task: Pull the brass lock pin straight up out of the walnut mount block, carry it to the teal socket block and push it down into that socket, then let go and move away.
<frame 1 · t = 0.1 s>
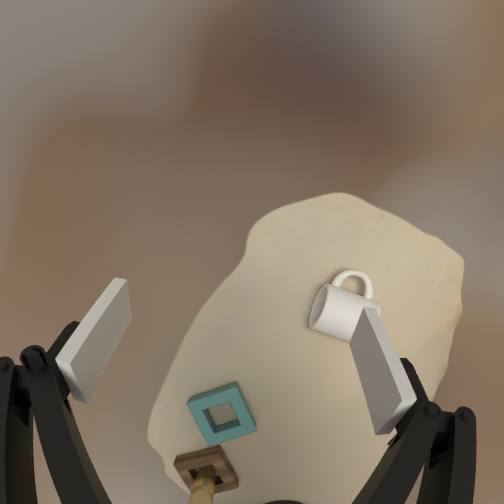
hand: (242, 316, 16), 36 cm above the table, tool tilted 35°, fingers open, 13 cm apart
socket block: (222, 411, 47), on the table
mount block: (207, 468, 45), on the table
pin: (204, 486, 38), in the mount block
mug: (340, 304, 52), on the table
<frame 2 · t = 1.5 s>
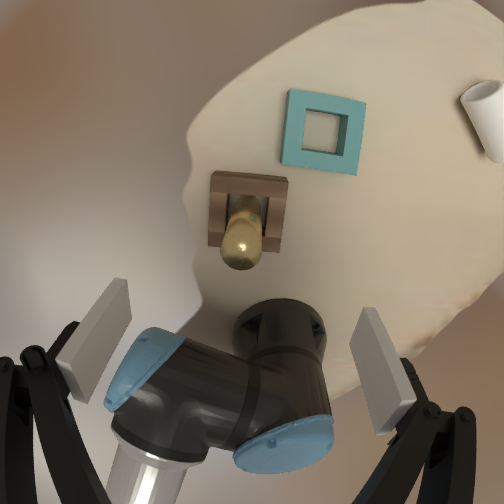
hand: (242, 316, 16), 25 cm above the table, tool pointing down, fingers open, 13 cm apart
socket block: (319, 131, 34), on the table
mount block: (247, 207, 39), on the table
pin: (245, 225, 32), in the mount block
mug: (485, 112, 31), on the table
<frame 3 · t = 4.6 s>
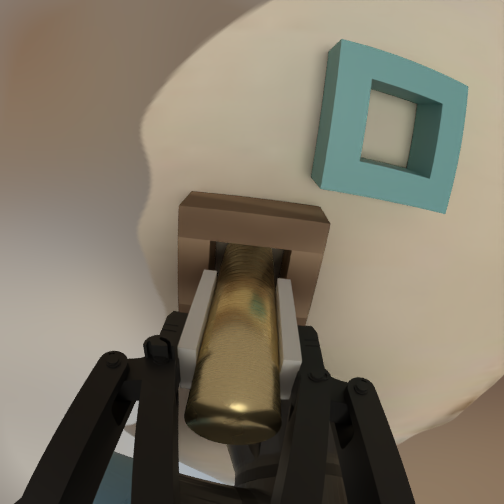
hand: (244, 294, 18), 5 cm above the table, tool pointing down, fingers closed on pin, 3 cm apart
socket block: (382, 127, 18), on the table
mount block: (248, 256, 22), on the table
pin: (243, 314, 16), in the mount block, touching gripper
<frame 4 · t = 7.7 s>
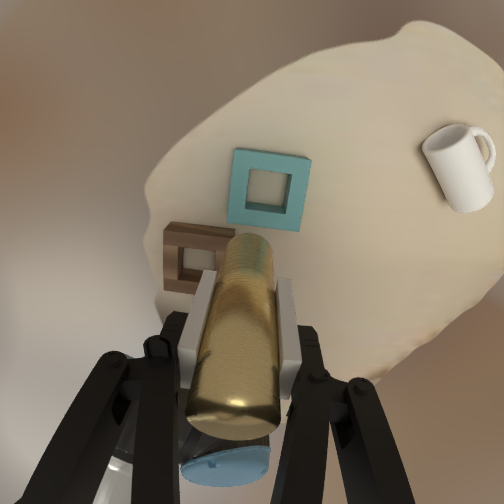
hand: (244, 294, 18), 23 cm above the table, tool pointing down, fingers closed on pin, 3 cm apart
socket block: (267, 185, 38), on the table
mount block: (200, 255, 42), on the table
pin: (242, 311, 16), point 25 cm above the table, touching gripper
mug: (452, 155, 35), on the table
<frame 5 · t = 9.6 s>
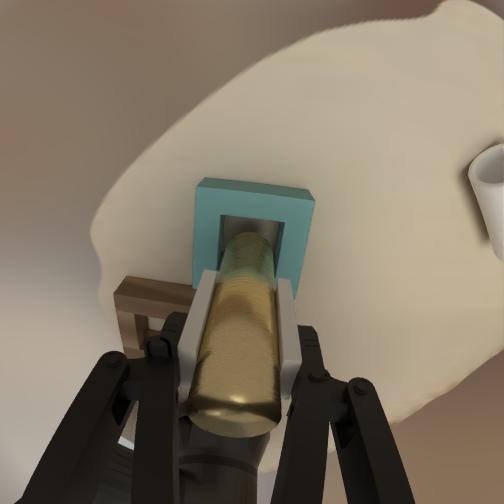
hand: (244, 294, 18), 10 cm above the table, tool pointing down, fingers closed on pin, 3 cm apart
socket block: (250, 231, 27), on the table
mount block: (167, 316, 32), on the table
pin: (243, 309, 16), point 12 cm above the table, touching gripper
mug: (500, 182, 24), on the table
when the fingers open (7 cm above the table, at t = 10.9 s): pin drops 1 cm, resting in socket block.
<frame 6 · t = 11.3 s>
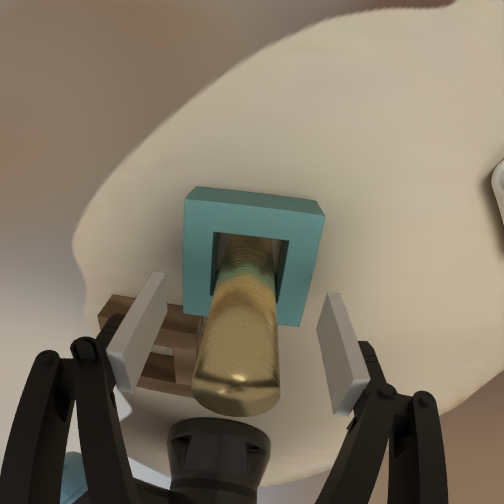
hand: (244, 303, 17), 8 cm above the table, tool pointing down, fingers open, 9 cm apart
socket block: (249, 248, 24), on the table
mount block: (158, 337, 28), on the table
pin: (244, 298, 17), in the socket block
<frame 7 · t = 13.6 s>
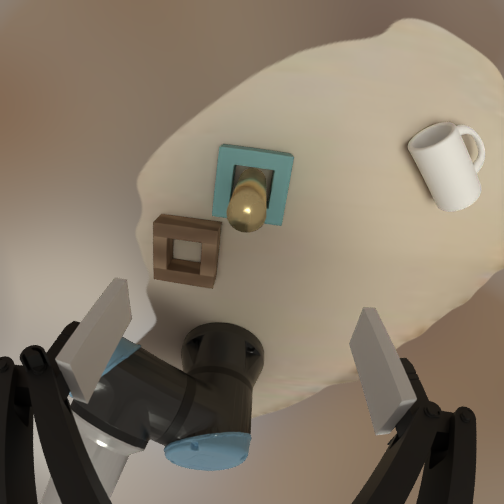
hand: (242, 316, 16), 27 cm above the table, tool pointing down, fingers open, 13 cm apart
socket block: (252, 180, 39), on the table
mount block: (189, 246, 44), on the table
pin: (250, 194, 33), in the socket block
mug: (440, 154, 36), on the table
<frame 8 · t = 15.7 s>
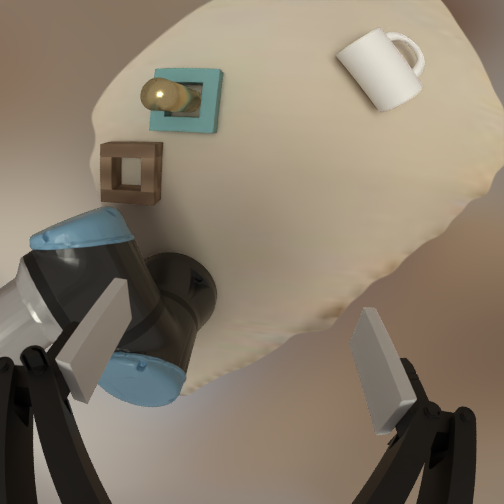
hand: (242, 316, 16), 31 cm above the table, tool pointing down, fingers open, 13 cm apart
socket block: (189, 100, 38), on the table
mount block: (135, 169, 43), on the table
pin: (175, 97, 32), in the socket block
mug: (379, 66, 35), on the table
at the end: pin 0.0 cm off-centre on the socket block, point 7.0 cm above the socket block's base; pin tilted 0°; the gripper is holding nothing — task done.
